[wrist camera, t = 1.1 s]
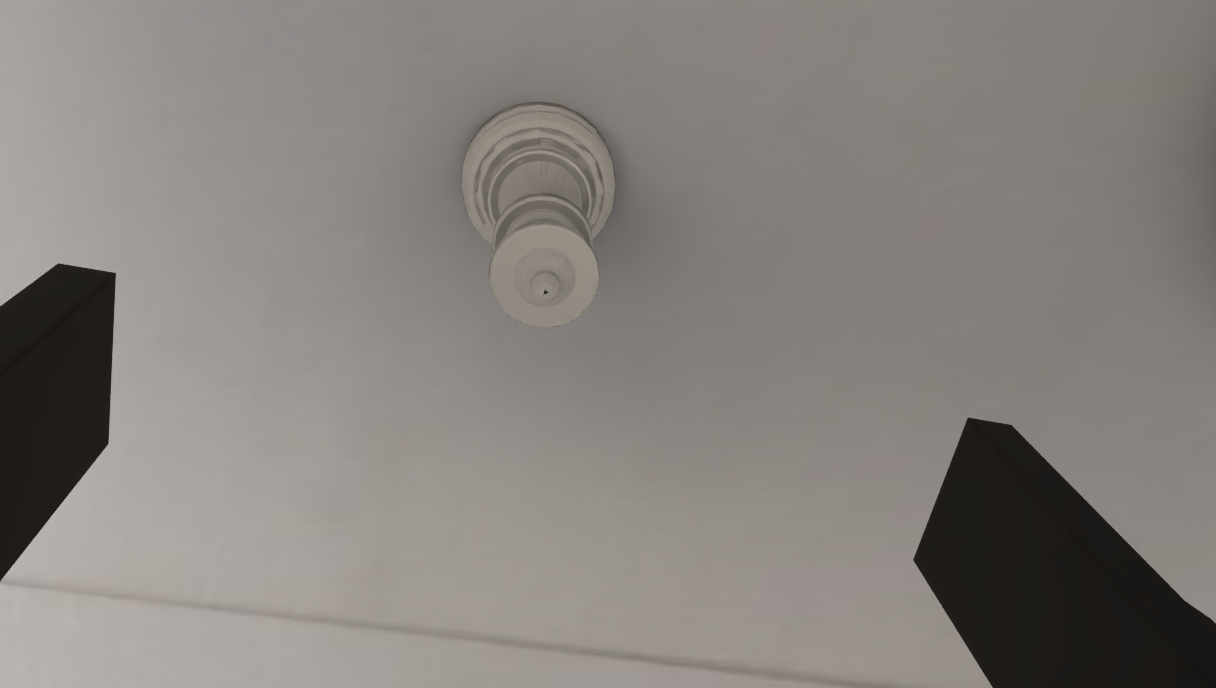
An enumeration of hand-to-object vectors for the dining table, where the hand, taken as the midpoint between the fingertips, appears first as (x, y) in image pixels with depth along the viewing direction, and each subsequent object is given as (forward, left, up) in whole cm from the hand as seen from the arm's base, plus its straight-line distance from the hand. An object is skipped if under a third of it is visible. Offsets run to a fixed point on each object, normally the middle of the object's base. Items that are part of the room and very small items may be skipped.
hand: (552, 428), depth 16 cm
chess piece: (0, 0, -16) cm, 16 cm away
